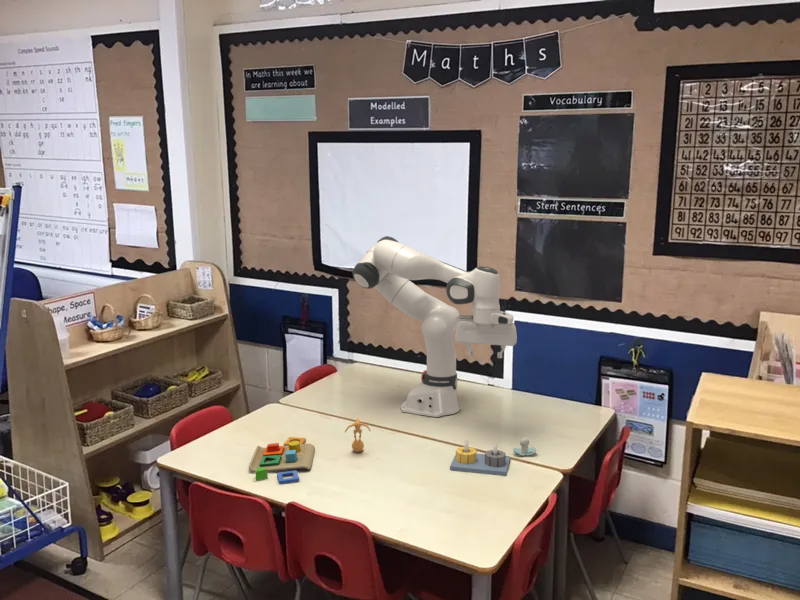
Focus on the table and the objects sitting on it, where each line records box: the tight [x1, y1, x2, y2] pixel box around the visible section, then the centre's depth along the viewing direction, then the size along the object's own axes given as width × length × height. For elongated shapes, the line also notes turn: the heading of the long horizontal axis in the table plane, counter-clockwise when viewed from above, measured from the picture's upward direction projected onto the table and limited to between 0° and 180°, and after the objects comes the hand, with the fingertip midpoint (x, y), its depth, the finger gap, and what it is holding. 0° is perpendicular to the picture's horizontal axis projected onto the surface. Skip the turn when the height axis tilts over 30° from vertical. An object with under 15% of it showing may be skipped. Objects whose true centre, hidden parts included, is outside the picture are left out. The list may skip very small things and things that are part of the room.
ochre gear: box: [455, 446, 478, 464], centre depth 220 cm, size 6×6×3 cm
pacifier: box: [512, 437, 537, 457], centre depth 227 cm, size 7×6×6 cm
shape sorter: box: [248, 436, 316, 485], centre depth 223 cm, size 34×19×5 cm, turn 2°
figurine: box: [344, 418, 371, 453], centre depth 228 cm, size 8×6×12 cm
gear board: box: [449, 440, 511, 477], centre depth 219 cm, size 17×12×7 cm
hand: (485, 357), depth 235 cm, fingers open, 8 cm apart
